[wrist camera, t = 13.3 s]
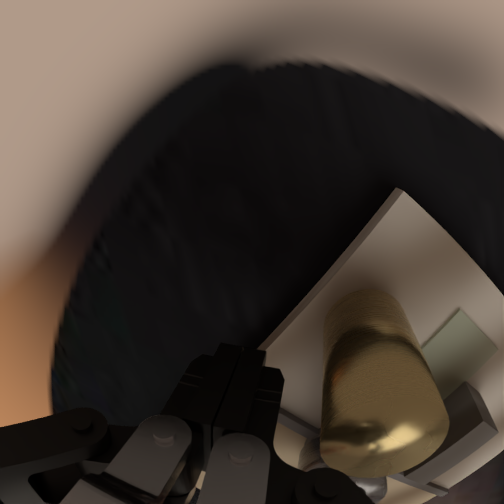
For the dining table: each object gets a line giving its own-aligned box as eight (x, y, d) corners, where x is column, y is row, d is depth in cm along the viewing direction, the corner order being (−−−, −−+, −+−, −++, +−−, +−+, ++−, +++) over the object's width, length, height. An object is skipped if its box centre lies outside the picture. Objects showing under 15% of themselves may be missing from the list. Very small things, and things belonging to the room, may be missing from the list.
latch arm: (373, 476, 14) (375, 558, 9) (297, 476, 15) (283, 559, 10) (426, 288, 11) (488, 386, 5) (308, 288, 11) (297, 396, 6)
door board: (559, 378, 12) (586, 417, 8) (337, 530, 20) (334, 567, 16) (396, 187, 12) (431, 204, 8) (154, 447, 19) (131, 490, 15)
